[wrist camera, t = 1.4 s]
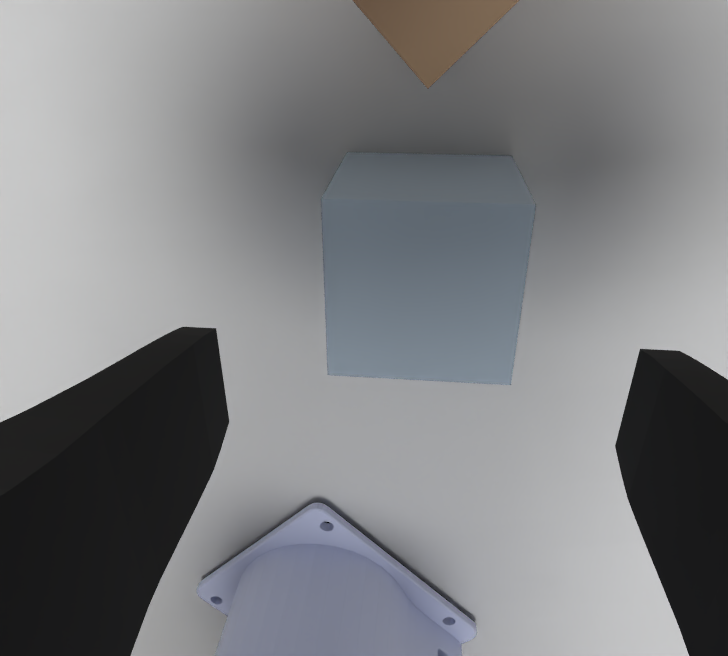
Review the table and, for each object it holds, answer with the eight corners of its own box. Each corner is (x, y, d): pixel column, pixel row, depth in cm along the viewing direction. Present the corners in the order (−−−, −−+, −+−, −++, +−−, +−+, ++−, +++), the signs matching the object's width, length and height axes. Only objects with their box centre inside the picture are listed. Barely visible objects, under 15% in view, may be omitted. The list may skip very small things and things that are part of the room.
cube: (511, 155, 16) (536, 204, 12) (494, 303, 18) (510, 385, 15) (347, 151, 17) (321, 198, 13) (349, 296, 19) (327, 374, 15)
